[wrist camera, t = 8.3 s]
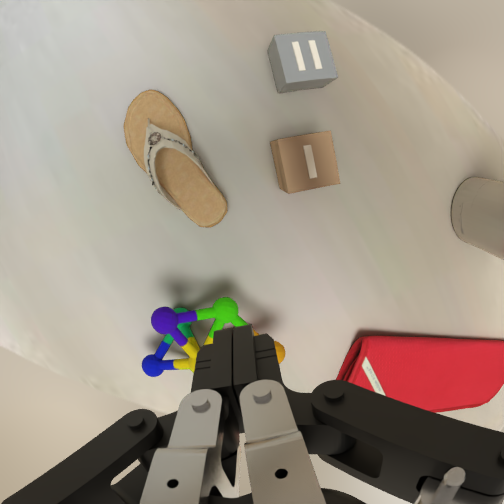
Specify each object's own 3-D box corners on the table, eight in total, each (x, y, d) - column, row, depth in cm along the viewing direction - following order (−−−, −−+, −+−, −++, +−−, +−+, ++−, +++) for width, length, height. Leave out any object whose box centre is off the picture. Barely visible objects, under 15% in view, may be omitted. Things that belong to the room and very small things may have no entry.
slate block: (312, 46, 29) (325, 30, 24) (322, 87, 30) (338, 77, 25) (267, 51, 29) (274, 34, 24) (277, 93, 30) (286, 82, 25)
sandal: (157, 84, 29) (147, 73, 24) (247, 197, 33) (251, 204, 29) (110, 125, 30) (92, 121, 25) (198, 235, 34) (194, 248, 29)
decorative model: (242, 410, 37) (124, 391, 30) (232, 356, 43) (128, 330, 37) (308, 354, 31) (164, 320, 24) (286, 295, 38) (166, 253, 31)
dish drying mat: (482, 400, 49) (491, 410, 46) (317, 411, 43) (323, 428, 40) (517, 337, 45) (527, 346, 41) (355, 324, 39) (366, 339, 36)
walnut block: (315, 134, 32) (331, 130, 27) (324, 179, 33) (340, 183, 28) (269, 142, 32) (277, 139, 27) (279, 188, 33) (289, 194, 28)
